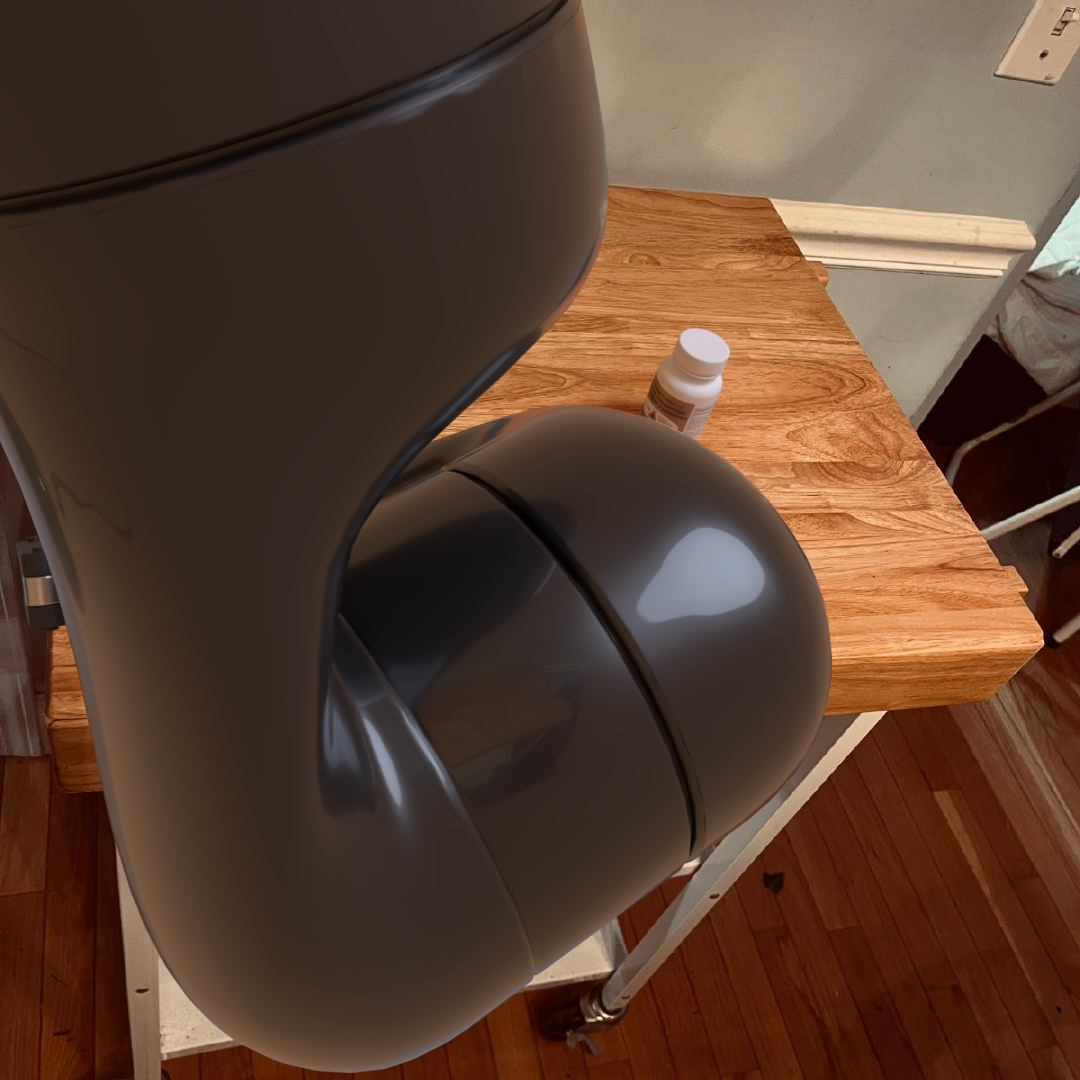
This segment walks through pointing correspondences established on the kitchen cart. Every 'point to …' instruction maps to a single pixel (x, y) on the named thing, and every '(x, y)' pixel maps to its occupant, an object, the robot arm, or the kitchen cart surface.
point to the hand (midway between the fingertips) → (208, 542)
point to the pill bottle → (688, 382)
